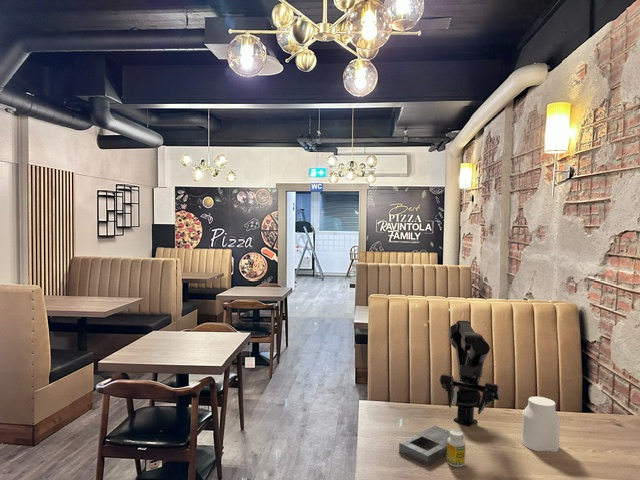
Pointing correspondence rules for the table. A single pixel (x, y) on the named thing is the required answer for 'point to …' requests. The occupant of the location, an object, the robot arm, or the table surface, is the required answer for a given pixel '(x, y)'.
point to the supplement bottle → (456, 449)
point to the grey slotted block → (426, 445)
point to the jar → (540, 425)
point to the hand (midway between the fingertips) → (464, 410)
